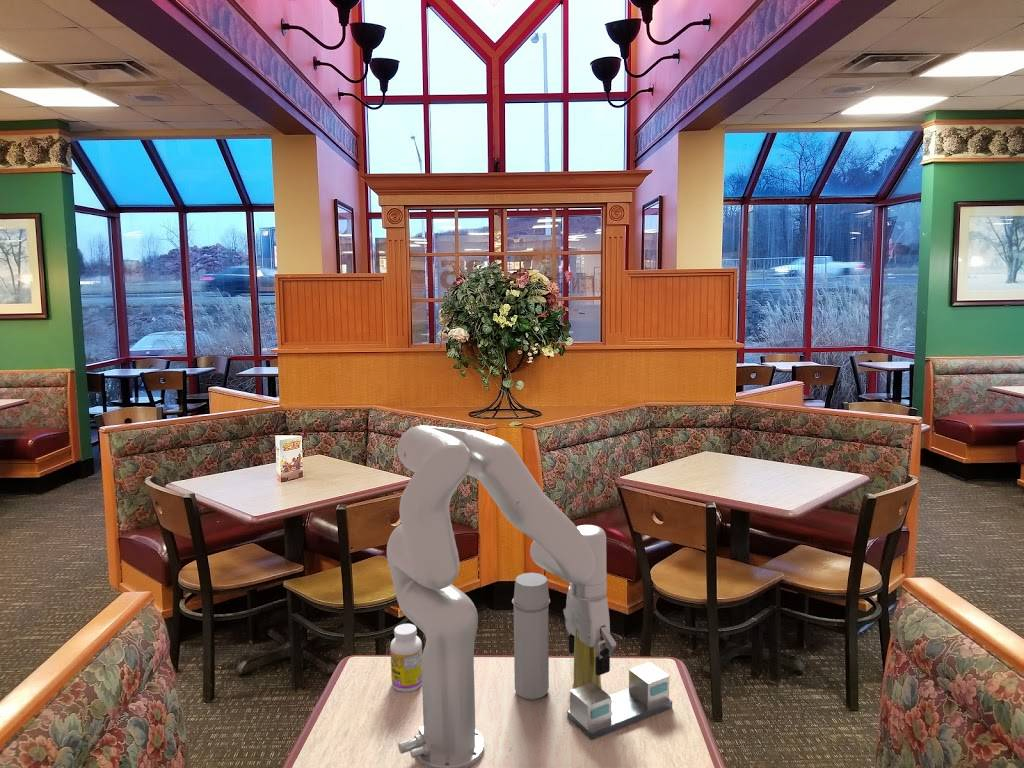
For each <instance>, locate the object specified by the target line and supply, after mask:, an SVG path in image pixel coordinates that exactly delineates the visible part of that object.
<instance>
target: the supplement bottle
mask: <svg viewBox="0 0 1024 768" xmlns="http://www.w3.org/2000/svg"><path fill="white" fill-rule="evenodd" d="M417 630H418V629H417V626H416V625H415V624H414V623H413V624H412V623H402V624H399V625H397V626H396V627H395V628H394V629H393V635H394V638H392V640H391V642H390V645H389V646H390V648H389V649H390V650H389V651H390V672H391V673H390V674H391V686H392V688H394V690H396V691H398V692H401V691H402V693H408V692H409V691H410V692H412V691H415V690H417V689H419V688H420V687H422V674H421V659H422V653H423V643H422V642H423V641H422V640H421V638H420V637H419V636H418V635H417V634H418V632H417Z"/></svg>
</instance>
